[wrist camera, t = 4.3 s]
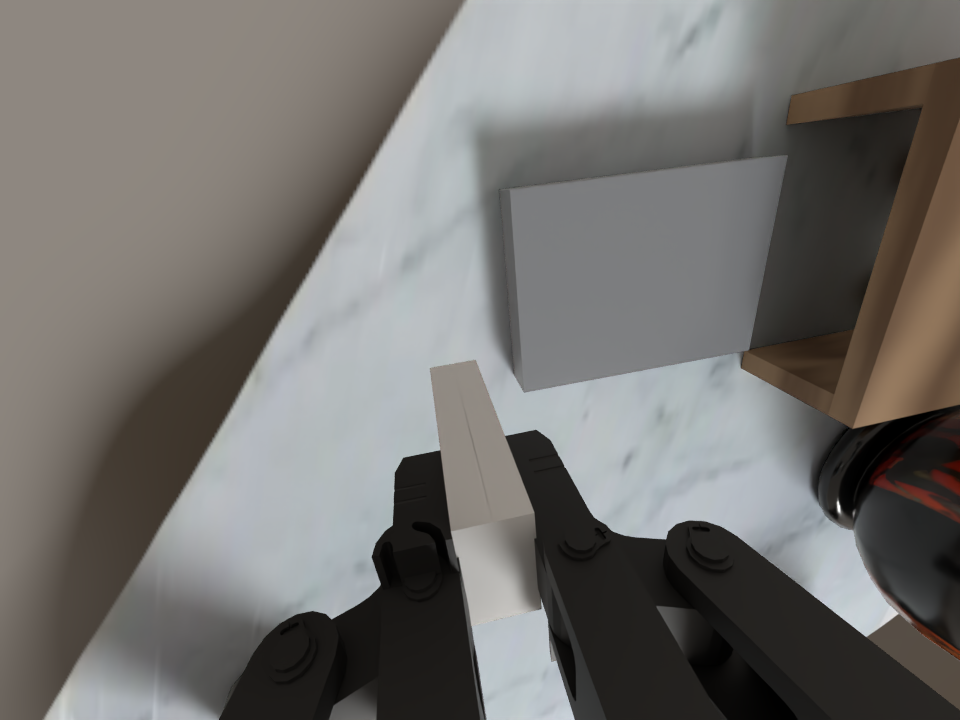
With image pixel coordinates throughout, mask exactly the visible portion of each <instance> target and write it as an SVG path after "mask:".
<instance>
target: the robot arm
mask: <svg viewBox="0 0 960 720" xmlns="http://www.w3.org/2000/svg"><path fill="white" fill-rule="evenodd" d="M430 373H431V380H432V388H433V396H434V404H435V411H436V419H437V427H438V435H439V443H440V451H435V452H430V453H425V454H420V455H415V456H410V457H405V458H403V460H402V461H401V463H400V465H399V467H398V468H397V470H396V472H395V485H394V490H395V492H394V513H393V526H392V527H390V528H389V529H387V530H386V531H385V532H384V533H383V535H382V536H381V537H380V539H379V540H378V541H377V543H376V545H375V548H374V551H373V555H372V559H373V562H374V565H375V568H376V571H377V574H378V577H379V580H380V583H381V585H380V587H379V588H378V589H377V590H376V591H375V592H374V593H373V594H372V595H371V596H370V597H369V598H367V599H366V600H364V601H363V602H361V603H360V604H358V605H357V606H355V607H353V608H351V609H350V610H348V611H346V612H344V613H343V614H341V615H339V616H337V617H335V618H334V619H332V620H331V619H330V618H329V617H328V616H327V615H326V614H323V613H319V612H314V611H311V612H306V613H301V614H297V615H295V616H293V617H291V618H289V619H287V620H286V621H284V622H282V623H280V624H279V625H278V626H277V627H276V628H275V629H274V630H272V631H271V632H270V633H269V634H268V635H267V636H266V637H265V638H264V639H263V641H262V642H261V644H260V645H259V647H258V648H257V649H256V651H255V652H254V654H253V655H252V657H251V659H250V661H249V663H248V665H247V667H246V669H245V671H244V672H243V674H242V676H241V677H240V678H239V679H238V680H237V681H236V682H235V684H234V685H233V687H232V688H231V690H230V693H229V695H228V698H227V701H226V704H225V707H224V710H223V713H222V715H221V716H220V718H219V720H486V714H485V707H484V701H483V694H482V687H481V681H480V674H479V668H478V661H477V655H476V651H475V646H474V640H473V633H472V626H475V625H479V624H483V623H487V622H491V621H495V620H499V619H503V618H507V617H511V616H515V615H519V614H523V613H527V612H531V611H535V610H539V609H542V608H541V599H542V603H543V606H544V609H545V612H546V615H547V618H548V628H549V643H550V654H551V662H553V661H556V660H557V663H558V667H559V670H560V673H561V676H562V680H563V683H564V686H565V689H566V692H567V696H568V699H569V702H570V705H571V708H572V712H573V715H574V718H575V720H960V710H959V709H957V708H956V707H955V706H954V705H952V704H951V703H949V702H948V701H947V700H946V699H944V698H943V697H942V696H941V695H939V694H938V693H937V692H936V691H934V690H933V689H932V688H930V687H929V686H928V685H927V684H925V683H924V682H923V681H922V680H920V679H919V678H918V677H916V676H915V675H914V674H912V673H911V672H910V671H909V670H907V669H906V668H904V666H902V665H901V664H900V663H898V662H897V661H896V660H894V659H893V658H892V657H891V656H890V655H888V654H887V653H886V652H884V651H883V650H882V649H881V648H879V647H878V646H877V645H875V644H874V643H873V642H872V641H870V640H869V639H868V638H866V637H865V636H864V635H863V634H861V633H860V632H859V631H858V630H856V629H855V628H854V627H852V626H851V625H850V624H849V623H847V622H846V621H845V620H843V619H842V618H841V617H840V616H838V615H837V614H836V613H834V612H833V611H832V610H831V609H829V608H828V607H827V606H826V605H824V604H823V603H822V602H820V601H819V600H818V599H817V598H815V597H814V596H813V595H811V594H810V593H809V592H808V591H806V590H805V589H804V588H802V587H801V586H800V585H799V584H797V583H796V582H795V581H794V580H792V579H791V578H790V577H788V576H787V575H786V574H785V573H783V572H782V571H781V570H779V569H778V568H777V567H776V566H774V565H773V564H772V563H770V562H769V561H768V560H767V559H765V558H764V557H763V556H761V555H760V554H759V553H758V552H756V551H755V550H754V549H753V548H751V547H750V546H749V545H747V544H746V543H745V542H744V541H742V540H741V539H740V538H738V537H737V536H736V535H734V534H732V533H731V532H729V531H727V530H726V529H724V528H722V527H720V526H717V525H714V524H711V523H708V522H705V521H686V522H682V523H679V524H676V525H675V526H674V527H673V528H672V529H671V530H670V531H668V535H667V539H666V540H665V539H650V538H635V537H629V536H624V535H621V534H618V533H615V532H613V531H611V530H610V529H609V528H608V527H607V526H606V525H605V524H603V523H602V522H600V521H598V520H597V519H595V518H594V517H593V515H592V514H591V513H590V511H589V509H588V508H587V506H586V504H585V502H584V500H583V499H582V497H581V495H580V493H579V491H578V489H577V488H576V486H575V484H574V482H573V480H572V479H571V477H570V475H569V473H568V471H567V470H566V468H565V467H564V464H563V462H562V460H561V459H560V457H559V456H558V453H557V451H556V450H555V448H554V446H553V444H552V442H551V441H550V440H549V439H548V438H547V437H545V436H544V435H543V434H541V433H540V432H538V431H537V430H533V431H528V432H523V433H518V434H513V435H508V436H505V435H504V432H503V430H502V427H501V425H500V422H499V419H498V417H497V414H496V412H495V409H494V406H493V404H492V401H491V399H490V396H489V393H488V391H487V388H486V386H485V383H484V380H483V378H482V375H481V373H480V370H479V367H478V365H477V362H476V360H472V361H466V362H461V363H455V364H449V365H444V366H438V367H433V368H430Z"/></svg>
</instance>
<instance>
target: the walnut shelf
mask: <svg viewBox="0 0 960 720" xmlns="http://www.w3.org/2000/svg"><path fill="white" fill-rule="evenodd" d="M918 108H922V111H921V114H920V118H919V121H918V124H917V127H916V131H915V134H914V137H913V140H912V144H911V147H910V150H909V153H908V157H907V160H906V163H905V166H904V170H903V173H902V176H901V179H900V183H899V186H898V189H897V192H896V196H895V199H894V202H893V205H892V209H891V212H890V215H889V218H888V222H887V225H886V228H885V231H884V235H883V238H882V241H881V244H880V248H879V251H878V254H877V257H876V261H875V264H874V267H873V270H872V274H871V277H870V280H869V283H868V287H867V290H866V293H865V296H864V300H863V303H862V306H861V309H860V313H859V316H858V319H857V322H856V326H855V329H853V330H848V331H843V332H837V333H832V334H827V335H822V336H817V337H812V338H807V339H801V340H796V341H791V342H786V343H781V344H776V345H771V346H765V347H760V348H755V349H750V350H748V351H744V355H743V361H742V366H741V368H742V369H744V370H746V371H747V372H749V373H751V374H753V375H755V376H757V377H758V378H760V379H762V380H764V381H766V382H768V383H769V384H771V385H773V386H775V387H777V388H779V389H780V390H782V391H784V392H786V393H788V394H790V395H791V396H793V397H795V398H797V399H799V400H801V401H802V402H804V403H806V404H808V405H810V406H812V407H813V408H815V409H817V410H819V411H821V412H823V413H824V414H826V415H828V416H830V417H832V418H834V419H835V420H837V421H839V422H841V423H843V424H845V425H846V426H848V427H850V428H852V429H854V428H858V427H863V426H867V425H872V424H876V423H880V422H885V421H889V420H894V419H898V418H902V417H907V416H911V415H916V414H920V413H924V412H929V411H933V410H938V409H942V408H946V407H951V406H955V405H960V58H956V59H952V60H947V61H943V62H938V63H934V64H929V65H925V66H921V67H916V68H912V69H907V70H903V71H898V72H894V73H889V74H885V75H881V76H876V77H872V78H867V79H863V80H858V81H854V82H849V83H845V84H841V85H836V86H832V87H827V88H823V89H818V90H814V91H809V92H805V93H801V94H796V95H792V97H791V102H790V107H789V113H788V118H787V124H786V125H789V124H797V123H805V122H813V121H821V120H829V119H837V118H845V117H853V116H861V115H869V114H877V113H885V112H894V111H902V110H910V109H918Z"/></svg>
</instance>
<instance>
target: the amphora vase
mask: <svg viewBox="0 0 960 720" xmlns="http://www.w3.org/2000/svg"><path fill="white" fill-rule="evenodd" d="M818 499H819V504H820V506H821V508H822V510H823V512H824V514H825V516H827V517H828V518H829V519H830V520H831V521H832V522H834V523H835V524H837V525H838V526H840V527H842V528H845V529H848V530H854V536H855V542H856V546H857V548H858V551H859V553H860V556H861V558H862V561H863V563H864V566H865V568H866V570H867V572H868V574H869V576H870V578H871V580H872V581H873V583H874V584H875V586H876V587H877V589H878V590H879V591H880V593H881V594H882V596H883V597H884V599H885V600H886V602H887V603H888V604H889V605H890V606H891V607H893V608H894V609H895V610H896V611H897V612H898V613H899V614H900V615H901V616H902V617H904V619H906V620H907V621H908V622H909V623H910V624H911V625H912V626H913V627H914V628H915V629H917V630H918V631H919V632H920V633H921V634H922V635H924V636H925V637H926V638H928V639H929V640H931V641H932V642H934V643H935V644H936V645H938V646H939V647H941V648H942V649H944V650H945V651H946V652H948V653H949V654H951V655H952V656H954V657H955V658H956V659H958V660H959V661H960V405H955V406H951V407H946V408H942V409H938V410H933V411H929V412H924V413H920V414H916V415H911V416H907V417H902V418H898V419H894V420H889V421H885V422H880V423H876V424H872V425H867V426H863V427H858V428H854V429H852V428H850V429H849V430H847V431H846V432H845V434H844V435H843V436H842V438H841V439H840V440H839V441H838V443H837V444H836V445H835V447H834V448H833V449H832V451H831V453H830V455H829V457H828V458H827V460H826V462H825V464H824V466H823V468H822V471H821V475H820V478H819V482H818Z"/></svg>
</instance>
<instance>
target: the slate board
mask: <svg viewBox="0 0 960 720" xmlns="http://www.w3.org/2000/svg"><path fill="white" fill-rule="evenodd" d="M787 158H788V155H781V156H766V157H752V158H744V159H736V160H728V161H720V162H712V163H704V164H696V165H688V166H680V167H672V168H664V169H656V170H648V171H640V172H632V173H624V174H616V175H608V176H600V177H592V178H584V179H577V180H569V181H561V182H553V183H545V184H537V185H529V186H521V187H513V188H505V189H499V194H500V206H501V218H502V231H503V243H504V256H505V268H506V280H507V293H508V305H509V317H510V330H511V342H512V354H513V367H514V376H515V378H516V379H517V381H518V383H519V385H520V386H521V388H522V390H523V392H529V391H535V390H540V389H546V388H551V387H556V386H562V385H567V384H572V383H578V382H583V381H588V380H594V379H599V378H604V377H610V376H615V375H620V374H626V373H631V372H636V371H642V370H647V369H652V368H658V367H663V366H668V365H674V364H679V363H684V362H690V361H695V360H700V359H706V358H711V357H716V356H722V355H727V354H732V353H738V352H743V351H748V350H749V347H750V342H751V337H752V332H753V327H754V322H755V317H756V312H757V307H758V302H759V297H760V292H761V287H762V282H763V277H764V272H765V267H766V262H767V257H768V252H769V247H770V242H771V237H772V232H773V228H774V223H775V218H776V213H777V208H778V203H779V198H780V193H781V188H782V183H783V178H784V173H785V168H786V163H787Z"/></svg>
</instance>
